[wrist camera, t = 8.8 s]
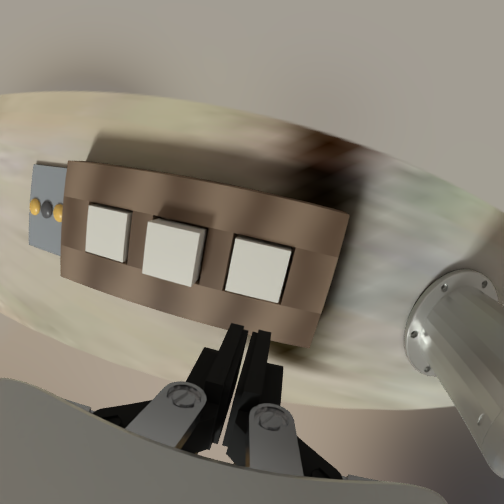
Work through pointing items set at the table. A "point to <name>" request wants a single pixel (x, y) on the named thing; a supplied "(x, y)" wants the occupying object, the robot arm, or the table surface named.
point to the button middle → (173, 251)
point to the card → (46, 207)
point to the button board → (215, 248)
